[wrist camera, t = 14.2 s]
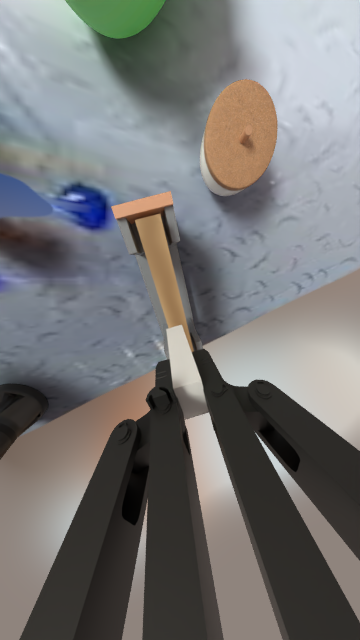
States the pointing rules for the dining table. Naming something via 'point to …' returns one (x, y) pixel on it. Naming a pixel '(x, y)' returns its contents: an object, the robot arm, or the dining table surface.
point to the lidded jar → (238, 138)
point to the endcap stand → (131, 236)
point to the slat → (162, 271)
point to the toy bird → (117, 15)
